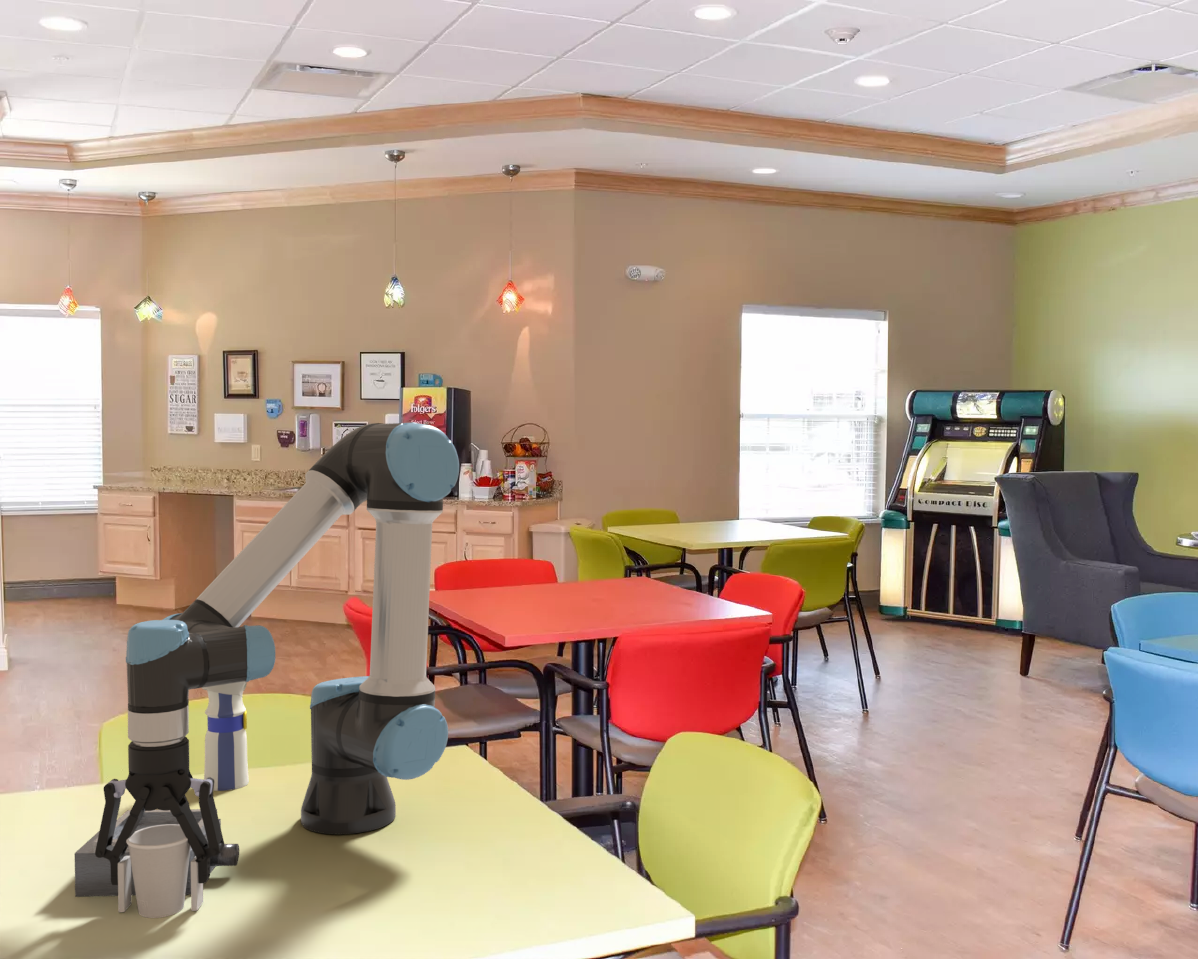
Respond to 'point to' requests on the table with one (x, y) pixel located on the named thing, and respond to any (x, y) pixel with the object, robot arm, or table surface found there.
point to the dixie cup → (159, 869)
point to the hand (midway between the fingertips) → (161, 906)
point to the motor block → (97, 871)
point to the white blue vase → (226, 737)
